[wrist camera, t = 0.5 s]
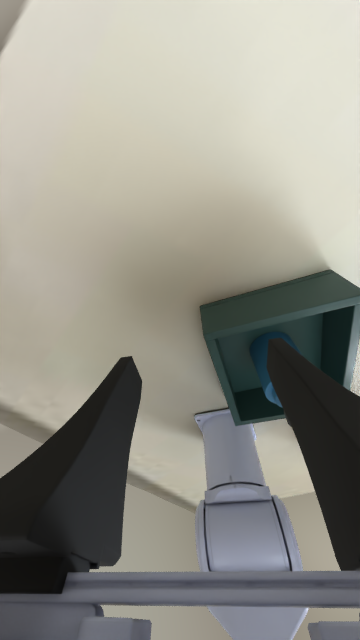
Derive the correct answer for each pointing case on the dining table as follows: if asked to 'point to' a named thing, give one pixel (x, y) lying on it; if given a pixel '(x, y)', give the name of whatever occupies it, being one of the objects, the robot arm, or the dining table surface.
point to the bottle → (260, 363)
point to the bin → (287, 317)
